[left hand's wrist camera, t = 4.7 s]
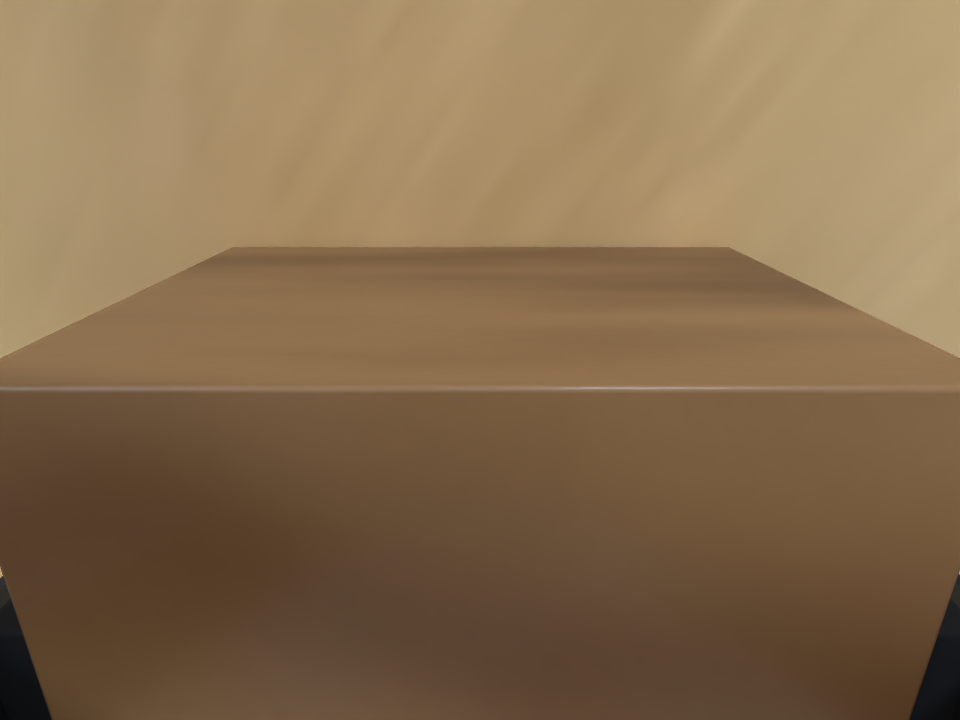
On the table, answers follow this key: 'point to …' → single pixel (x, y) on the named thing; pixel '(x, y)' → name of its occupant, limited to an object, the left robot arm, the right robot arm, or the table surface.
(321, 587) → the slab
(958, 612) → the left robot arm
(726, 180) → the table surface
